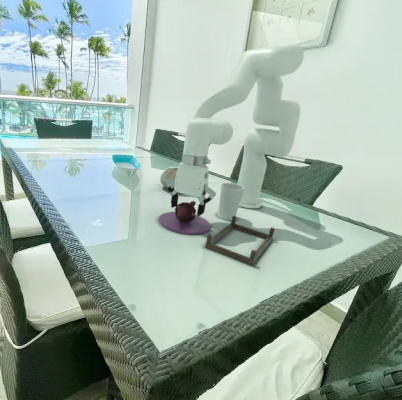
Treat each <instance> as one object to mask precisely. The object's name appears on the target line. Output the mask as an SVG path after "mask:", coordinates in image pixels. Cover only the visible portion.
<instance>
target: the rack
mask: <svg viewBox="0 0 402 400" xmlns="http://www.w3.org/2000/svg"><path fill="white" fill-rule="evenodd" d="M236 220H237V215H236V216H233V217H232V220H230V221H231V222H230V223H229V224H228V225H227V226H226V227H224V228H223V229H221V230H220V231H219V232H218V233H217V234H215V235H214V236H213V235H212V234H211V233H208V234H207V236H206V241H205V249H209V250H211V251H213V252H216V253H218V254H220V255H223V256H226V257H228V258H231V259H233V260H236V261H238V262H241V263H243V264H247V265H248V266H251V267H252V266H254V264H255V263H256V261H257V260H258V259H259V258H260V256H261V255H262V254H263V252H264V251H265V249H266V248H267V247H268V246H269V244H270V243H271V241H273V238H274V234H275V230H276V228H275V227H270V229H269V232H268V233H266V232H264V231H261V230H257V229H253V228H250V227H248V226H245V225H241V224H238V223H236ZM233 229H235V230H237V231H241V232H242V233H243V232H244V233H246V234H249V235H251V236H252V235H253V236H255V237H259V238H262V239H264V241H263V242H262V243H261V244H260V246H259V247H258V248H257V249H251V251H250V254H249V257H248V256H246V255H244V254H241V253H238V252H236V251H234V250H231V249H229V248H225V247H223V246H220V245H217V244H216V243H217V242H218V241H220V240H221V239H222V238H223V237H224V236H226V235H227V234H228V233H229V232H230V231H232V230H233Z"/></svg>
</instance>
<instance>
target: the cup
mask: <svg viewBox="0 0 402 400" xmlns="http://www.w3.org/2000/svg"><path fill="white" fill-rule="evenodd" d="M244 189H245V188H244V187H243V186H241V185H238V184H237V183H233V182H222V183H221V185H220V194H219V202H218V212H217V217H218V218H220V219H222V220H226V221H232V217H233V216H236V217H237V213H238V209H239V207H240V206H239V204H240V200H241V197H242V195H243V192H244Z"/></svg>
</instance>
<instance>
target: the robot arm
mask: <svg viewBox="0 0 402 400" xmlns="http://www.w3.org/2000/svg"><path fill="white" fill-rule="evenodd" d="M304 56H305V52H304V49H303V47H302V45H300V44H298V43H294V44H293V43H292V44H281V45H269V46H262V47H259V48H251V49H248V50H245V51H244V52H242V53H241V55H240V56H239V57H238V59H237V61H236V63H235V64H234V66H233V68H232V70H231V71H230V73H229V75H228V77H227V79H226V80H225V83H224V84H223V86H222V87H221V88H220V89H218V90H217V91H216V92H214V93H212V94H211V95H210V96H209V97H208V98H206V99H205V100H204V101H202V103H201V104H199V105H198V107H197V108H196V110H195V112H194V114H193V115H192V118H191V119H189V120H188V121H187V123H186V129H185V135H184V143H183V150H182V158H181V161H180V162H179V164H178V167H177V168H178V170H177V174H176V178H175V179H173V180H169V181H167V186H168V188H167V190H168V192H169V193H170V194H169V195H170V196H171V198H170V208H176V205H178V204H179V196H180V195H179V194H181V195H185V196H189V197H192V198H197V200H198V202H199V204H197V205H198V206H197V210H196V215H197V216H200V217H201V216H203V214H205V211H206V205H207V204H208V203H209V202H211V201H213V199H214V198H215V196H216V195H217V193H216V191H214V190H213V189H212V188H211V187H209V177H210V176H209V166H208V165H210V164H211V161H212V159H210V158H208V157H209V156H208V154H209V149H210V144H212V145H217V146H220V145H225V144H227V143H228V142H229V141H231V139H232V137H233V134H234V128H233V125H232V124H231V123H230V122H229V121H227V120H223V119H217V118H216V119H215V118H212V117H213V116H214V115H216V114H217V113H219V112H221V111H223V110H226V109H229V108H232V107H235V106H238V105H240V104H242V103H244V102H245V101H246V100H247V99H248V97H249V95H250V93H251V91H252V90H253V88H254V86H255V84H256V86H257V87H256V88H257V89H256V94H255V100H254V105H253V112H252V120H253V123H255V124H256V125H260V126H267V127H275V128H276V127H277V128H279V129H277V130H276V129H271V128H260V127H255V128H252V129H250V130H248V131H247V132H246V133H245V135H244V139H243V154H242V155H243V156H242V160H241V165H240V169H239V174H238V179H237V183H236V184H238V185H241V186H243V187H244V188H245V189H244V192H243V195H242V197H241V200H240V204H239V207H241V208H246V209H260V208H261V207H262V202H260V203H258V201H259V199H260V196H261V191H262V187H263V183H264V179H265V175H266V171H267V168H268V167H267V166H268V162H267V159H266V156H265V155H267V156H272V157H279V158H285V157H286V156H287V157H288V155H289V154H290V153H291V151H292V148H293V146H294V142H295V138H296V135H297V130H298V126H299V121H300V117H301V106H300V104H299V102H297V100H291V99H282V93H283V88H284V82H283V79H282V77H284V76H287V75H291V74H293V73H295V72H296V71H298V70H299V68H300V67H301V65H302V63H303V61H304V58H305V57H304ZM172 183H174V188H173V186H172ZM207 194H208V197H206V195H207Z"/></svg>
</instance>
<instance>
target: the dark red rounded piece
mask: <svg viewBox="0 0 402 400" xmlns="http://www.w3.org/2000/svg"><path fill="white" fill-rule="evenodd" d="M196 204H197V202H196V201H195V200H191V201H190V202H184V201H182V202H180V203H178V204H177V205H176V206H175V207H174V212H175V215H176V217H177V218H178V219H179V220H180V221H182V222H186V223H189V222H190V221H192V220H194V218H195V215H196V214H197V209H196V208H195V206H196Z"/></svg>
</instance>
